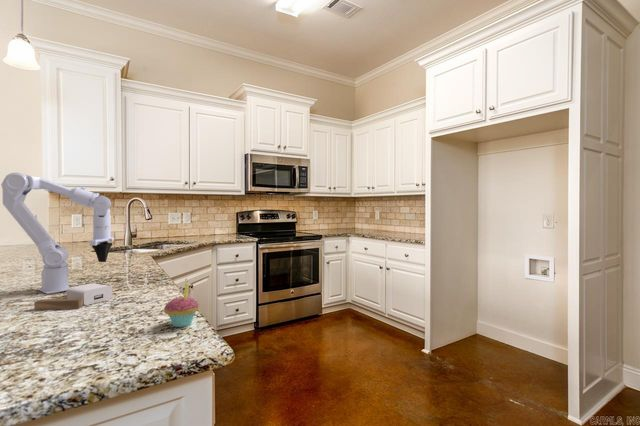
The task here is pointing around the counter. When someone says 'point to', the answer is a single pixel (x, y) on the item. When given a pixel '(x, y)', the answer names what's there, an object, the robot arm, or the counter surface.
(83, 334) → the counter surface
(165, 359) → the counter surface
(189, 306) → the cupcake
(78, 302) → the bar
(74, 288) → the charger
